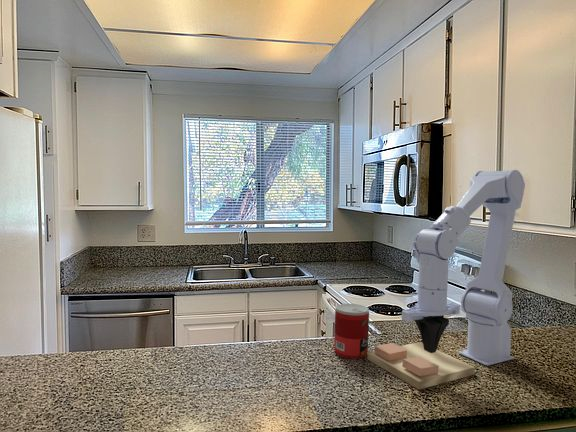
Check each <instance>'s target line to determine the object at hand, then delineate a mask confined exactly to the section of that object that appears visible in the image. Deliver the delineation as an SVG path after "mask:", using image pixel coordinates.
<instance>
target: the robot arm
mask: <svg viewBox="0 0 576 432" xmlns="http://www.w3.org/2000/svg"><path fill="white" fill-rule="evenodd" d="M469 180H470V181H469V188H468V189H467V191H466V192H465V194H464V195H463V196H462V198H461V199H460V200H459V202H458V203H457V204H456V205H451V206H447V207H446V208H445V209H444V211H443V213H441V215H440V216H439V217H438V218H437V219H436V220H435V221H434V222H433V223H432V224H431V225H430V227H428V228H423V229H422V230H419V232H418V233H417V234H416V236H415V239H414V241H413V249H414V252H415V254H416V261H417V263H418V278H417V279H418V283H417V284H418V285H417V303H414V306H412V307H410V308H407V309H403V310H402V311H401V320H402V321H404V322H406V323H412V322H413V321H414V323H415V324H416V326H417V329H418V331H419V333H420V336H421V341H422V342H421V343H423V346H424V350H425V351H427V352H430V353H434V352H436V350H438V348H439V347H438V346H439V343H440V340H441V338H442V336H443V333H444V332H445V331H446V328H447V327H448V326H449V324H450V319H449V318H447V317H444V316H446V315H447V316H448V315H460V310H461V309H462V311H463V313H465V317H466V319H467V318H468V322H467V323H468V325H467V342H466V343H467V348H466V349H462V350H459V351H458V354H459V355H461V356H464V357H467V358H468V359H470V360H473V361H475V362H478V363H480V364H483V365H484V366H491V365H495V364H498V363H503V362H507V361H511V360H514V356H513V355H511V346H512V345H511V343H512V329H511V326H510V325H509V323H508V321H509V320H510V319H511V317H512V314H513V309H514V307H513V292H512V290H511V289H510V288H509V287H508V286H507V285H506V284H505V282H503V278H504V273H505V269H506V263H507V258H508V254H509V253H508V252H509V247H510V242H511V238H512V232H513V228H514V227H513V226H514V222H515V217H516V212H517V211H518V210H519V209H520V208H521V207H522V202H523V198H524V193H525V187H526V185H525V184H526V183H525V180H524V177H523V175H522V172H521V171H520V170H518V169H511V170H494V171H493V170H490V171H489V170H488V171H483V170H478V171H476V172H475V173H474V174H473V175H472V177H471V178H470V179H469ZM481 206H483V207H484V208H487V209H488V210H489V212H490V216H489V220H488V224H487V225H488V227H487V230H486V235H485V240H484V246H483V250H482V256H481V259H480V265H479V271H478V275H477V276H476V277H475V278H473V279H471V280H469V281H468V282H467V283H466V287H465V289H464V292H463V294H462V296H461V297H460V298H461V299H460V305H459V304H456V303H454V302H451V303H447V300H448V285H449V284H448V282H449V281H448V278H449V260H450V258H451V257H452V256H454V254H455V252H456V249H457V244H458V243H459V239H460V237H461V236H462V234H463V233H465V231H466V230H467V228H468V227H469V226H470V225H471V223H472V222H471V221H472V220H471V216H472V215H473V214H474V213H475V212H476V211H477V210H478V209H479V208H480V207H481ZM487 291H490V292H491V293H490V292H487ZM492 292H494V293H492ZM460 307H461V309H460Z"/></svg>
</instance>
